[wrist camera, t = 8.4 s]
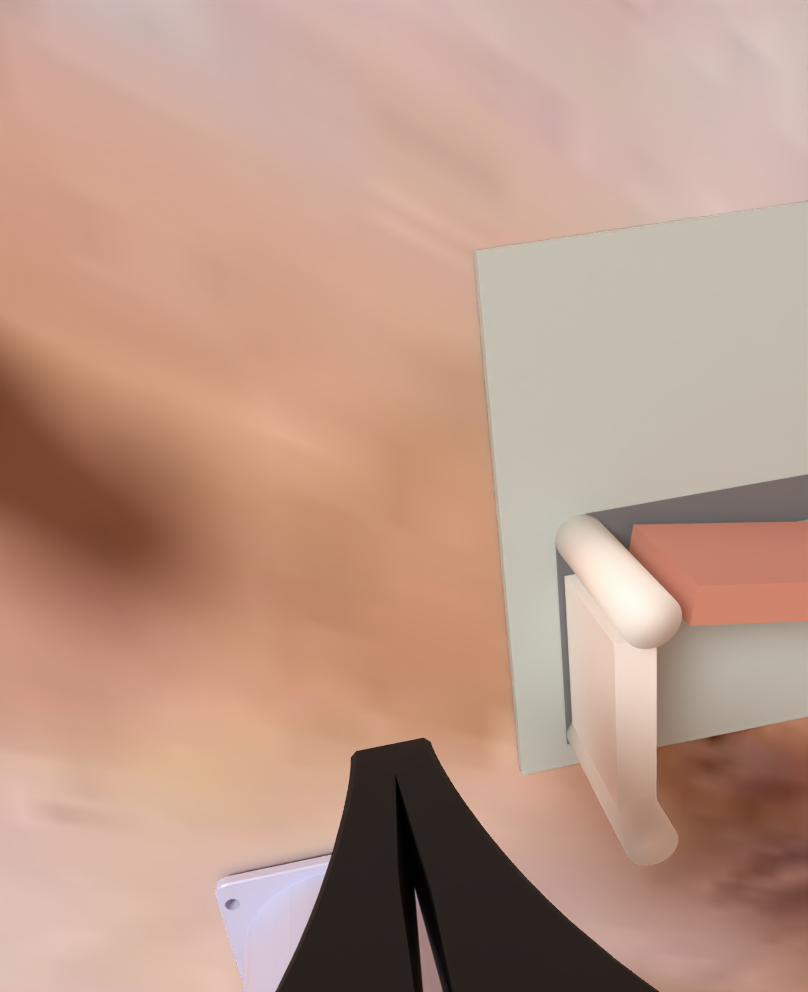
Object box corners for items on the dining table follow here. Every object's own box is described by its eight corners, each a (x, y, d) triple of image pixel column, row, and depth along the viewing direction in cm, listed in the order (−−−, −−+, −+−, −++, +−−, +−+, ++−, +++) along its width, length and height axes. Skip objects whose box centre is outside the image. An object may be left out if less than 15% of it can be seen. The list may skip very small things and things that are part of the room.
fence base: (606, 736, 27) (678, 859, 22) (563, 745, 27) (626, 871, 22) (599, 505, 24) (682, 588, 18) (549, 514, 23) (620, 600, 18)
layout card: (903, 689, 28) (912, 696, 28) (519, 767, 27) (522, 775, 27) (983, 175, 21) (996, 174, 21) (473, 250, 20) (477, 251, 20)
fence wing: (626, 565, 24) (703, 649, 19) (634, 518, 23) (715, 593, 18) (849, 559, 25) (971, 637, 20) (862, 514, 24) (991, 584, 20)
